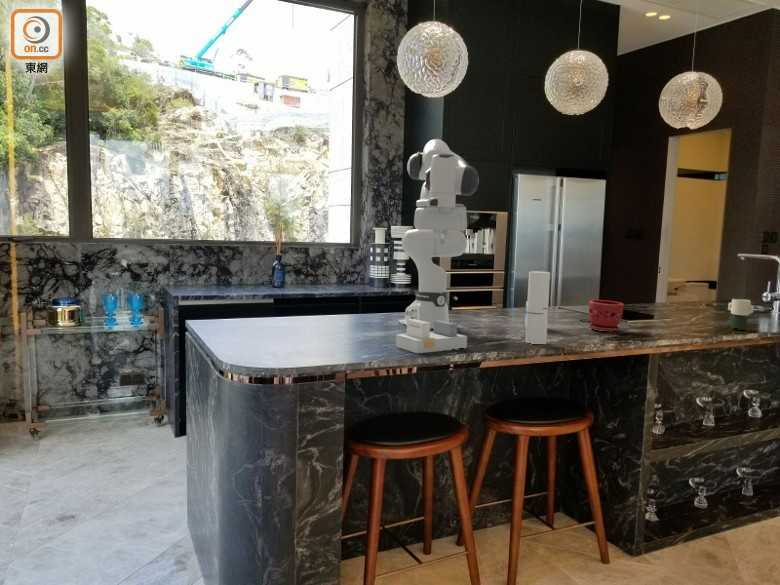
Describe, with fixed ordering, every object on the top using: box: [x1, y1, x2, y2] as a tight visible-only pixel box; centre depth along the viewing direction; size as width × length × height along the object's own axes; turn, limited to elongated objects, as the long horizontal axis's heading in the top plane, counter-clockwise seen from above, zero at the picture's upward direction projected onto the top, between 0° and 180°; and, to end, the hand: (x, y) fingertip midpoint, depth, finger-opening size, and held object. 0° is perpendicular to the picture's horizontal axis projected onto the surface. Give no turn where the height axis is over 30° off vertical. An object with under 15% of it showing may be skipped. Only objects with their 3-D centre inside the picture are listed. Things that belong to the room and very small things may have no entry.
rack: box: [395, 320, 468, 354], centre depth 196 cm, size 12×20×8 cm, turn 123°
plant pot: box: [588, 299, 624, 332], centre depth 242 cm, size 13×13×12 cm
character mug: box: [727, 298, 755, 330], centre depth 255 cm, size 11×7×13 cm, turn 27°
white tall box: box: [524, 270, 551, 345], centre depth 209 cm, size 7×7×25 cm
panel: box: [406, 319, 431, 339], centre depth 193 cm, size 9×3×8 cm, turn 33°
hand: (440, 243), depth 202 cm, fingers closed
